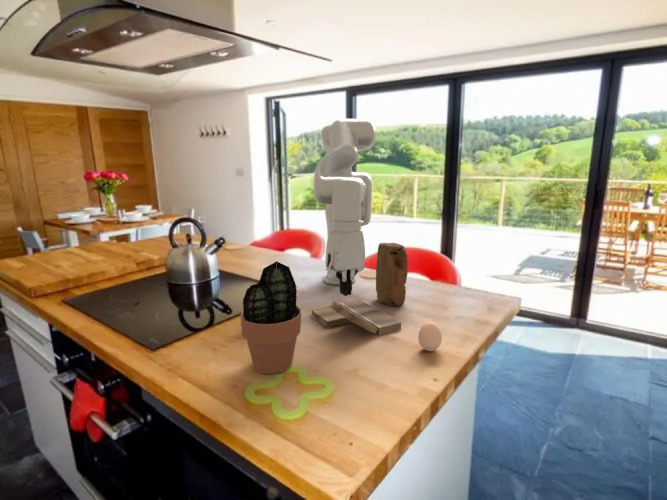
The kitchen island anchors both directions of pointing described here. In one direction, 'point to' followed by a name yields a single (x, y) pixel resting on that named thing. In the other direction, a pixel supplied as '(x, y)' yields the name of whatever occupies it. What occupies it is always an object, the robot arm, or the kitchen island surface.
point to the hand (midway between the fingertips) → (345, 294)
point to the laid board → (373, 316)
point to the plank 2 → (354, 318)
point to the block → (391, 273)
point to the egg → (430, 336)
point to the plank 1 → (329, 316)
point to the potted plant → (271, 319)
